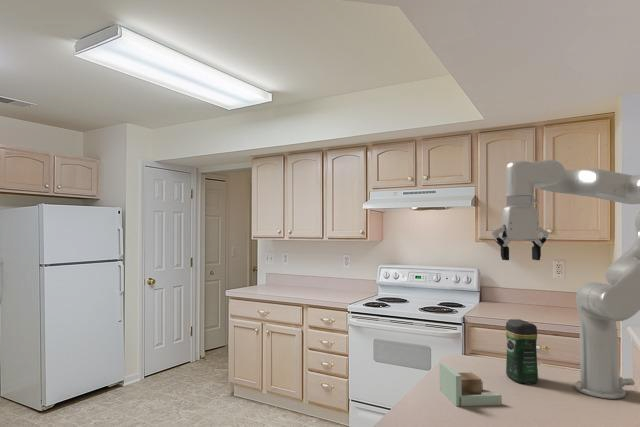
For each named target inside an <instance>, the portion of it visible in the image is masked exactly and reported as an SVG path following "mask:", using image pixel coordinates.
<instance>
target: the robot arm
mask: <svg viewBox="0 0 640 427" xmlns="http://www.w3.org/2000/svg"><path fill="white" fill-rule="evenodd" d="M505 179H506V180H505V183H506V184H505V185H506V186H505V188H506V191H505V193H506V195H505V196H506V197H505V198H506V200H505V202H506V207H503V209H502V214H501V222H500V226H499V228H497V229H494V230H493V231H492V232H491V234H492V236H493V239H494V242H496V243H497V244H498V247H500V258H501V260H502V261H510V247H509V246H508V245H509V244H510V243H511V241H530V243H531V244H532V247H531V259H532V260H534V261H540V260H541V257H542V249H541V248H542V247H543V245H544V244H545V242H546V241H547V239H548V237H549V234H550V233H549V231H547V230H545V229H544V228H542V227H540V222H539V215H538V211H537V207H535V204H538V203H539V202H538V199H537V198H535V193H534V192H535V190H534V189H536V190H539V191H540V190H541V191H546V192H551V193H557V194H566V195H573V196H580V197H587V198H589V197H590V198H596V199H601V200H605V201H610V202H611V201H612V202H615V203H616V202H617V203H619V204H620V203H621V204H628V205H640V174H637V175H636V174H635V175H632V174H626V173H620V172H616V171H615V172H614V171H611V170H605V169H600V168H583V169H565V166H564V165H563V164H562V163H561V162H559V161H557V160H556V159H555V160H554V159H544V160H537V161H526V160H517V161H511V162H509V163H507V165H506V167H505ZM634 226H635V231H636V232H635V233H636V239H635V241H634V243H633V244H632V246H631V247H629V248H628V249H627V251H625V252H624V253H623V254H622V255H620V256H619V257H618V258H617V259H616V260H615V261H614V262H613V263H612V264H610V266H609V267H608V268H607V269H606V272H605V279H606V282H607V283H601V282H587V283H584V284H583V285H581V286H580V287H579V288H578V289H577V291H576V296H575V303H576V304H575V306H576V309H577V310H576V311H577V315H578V322H579V360H580V361H579V363H580V364H579V365H580V366H579V369H580V380H578V381H576V382H574V388H575V390H576V391H578V392H580V393H582V394H585V395H588V396H590V397H591V396H592V397H595V398H596V397H597V398H601V399H610V400H611V399H614V400H617V399H621V398H624V397H626V390H625V389H624V388H623V387H625V386H634V385H635V381H634V379H633V378H632V377H631V378H629V377H628V378H623V376H620V375H619V343H618V342H619V335H618V327H617V322H624V321H626V320H629V319H630V318H632V317H634V316H635V315H636V314H637V313H638V312H639V311H640V212H639V213H637V214H636V216H635V221H634ZM540 234H541V236H540Z"/></svg>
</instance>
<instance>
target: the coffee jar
mask: <svg viewBox="0 0 640 427" xmlns="http://www.w3.org/2000/svg"><path fill="white" fill-rule="evenodd" d="M505 335H506V362H505V364H506V365H505V374H506V376H507V377H508V378H509V379H511V380H512V381H514V382H516V383H522V384H527V385H531V384H535V383H538V381H539V372H538V369H539V368H538V357H537V356H538V355H537V354H538V353H537V351H538V349H537V341H538V328H537V325H535V324H534V323H532V322H529V321H525V320H523V319H520V318H516V319H515V318H514V319H513V318H511V319H508V320H507V321H506V323H505Z"/></svg>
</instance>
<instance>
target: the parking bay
mask: <svg viewBox="0 0 640 427" xmlns="http://www.w3.org/2000/svg"><path fill="white" fill-rule="evenodd" d="M458 373H459V372H458V371H456V370H455V369H454V368H452V367H451V366H450V365H448V364H447V363H446V362H439V391H440V392H441V393H442V394H443V395H444V396H445V397H446V398H447V399H448V400H449V401H451V403H452V404H453V405H454V406H455V407H470V406H471V407H472V406H477V407H478V406H500V405H501V406H502V405H503V404H502V402H503V397H502V394H501V393H491V394H490V393H482V395H462V386H461V375H460V374H458ZM481 387H482V391H483V390H484V381H483V380H481Z"/></svg>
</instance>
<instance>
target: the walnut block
mask: <svg viewBox="0 0 640 427" xmlns="http://www.w3.org/2000/svg"><path fill="white" fill-rule="evenodd" d="M457 373H458V374H460V375H461V386H462V395H482V394H483V393H482V391H483V390H482V387H481V381H482V378H481V377H479V376H477V375H476V374H475V373H473V372H472V371H470V372H457Z"/></svg>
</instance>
